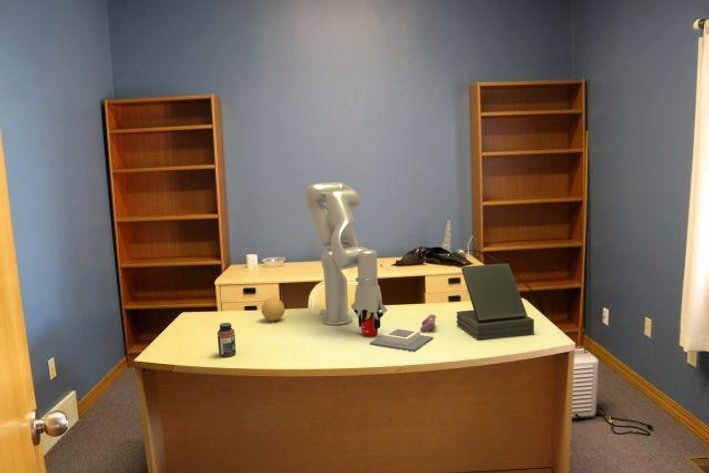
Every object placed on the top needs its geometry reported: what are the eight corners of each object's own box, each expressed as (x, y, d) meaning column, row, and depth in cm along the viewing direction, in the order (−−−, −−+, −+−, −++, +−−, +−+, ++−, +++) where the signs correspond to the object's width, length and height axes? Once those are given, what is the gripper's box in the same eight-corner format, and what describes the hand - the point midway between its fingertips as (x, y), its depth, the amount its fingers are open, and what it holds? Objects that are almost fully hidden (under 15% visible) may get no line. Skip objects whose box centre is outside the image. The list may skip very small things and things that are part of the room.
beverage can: (368, 331, 207) (367, 301, 206) (381, 334, 203) (380, 304, 202) (358, 335, 203) (357, 305, 201) (371, 338, 199) (370, 307, 197)
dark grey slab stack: (476, 341, 192) (476, 274, 189) (456, 326, 211) (455, 265, 208) (534, 335, 196) (534, 269, 193) (508, 321, 215) (508, 261, 212)
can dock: (369, 344, 192) (369, 335, 191) (390, 332, 205) (390, 324, 204) (414, 352, 182) (414, 342, 181) (433, 338, 195) (432, 330, 195)
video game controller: (429, 336, 203) (437, 321, 202) (419, 331, 204) (426, 315, 202) (431, 329, 213) (438, 314, 211) (421, 324, 213) (428, 309, 212)
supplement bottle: (220, 352, 189) (218, 322, 188) (237, 351, 189) (235, 321, 188) (217, 358, 183) (215, 326, 182) (234, 357, 184) (232, 325, 182)
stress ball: (285, 324, 225) (290, 305, 232) (274, 311, 219) (280, 292, 226) (266, 326, 229) (271, 307, 236) (254, 313, 223) (261, 294, 229)
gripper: (343, 282, 202) (345, 327, 204) (382, 285, 193) (384, 332, 195) (354, 278, 208) (355, 322, 210) (392, 281, 199) (393, 327, 201)
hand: (369, 326), depth 203 cm, fingers closed on beverage can, 6 cm apart
